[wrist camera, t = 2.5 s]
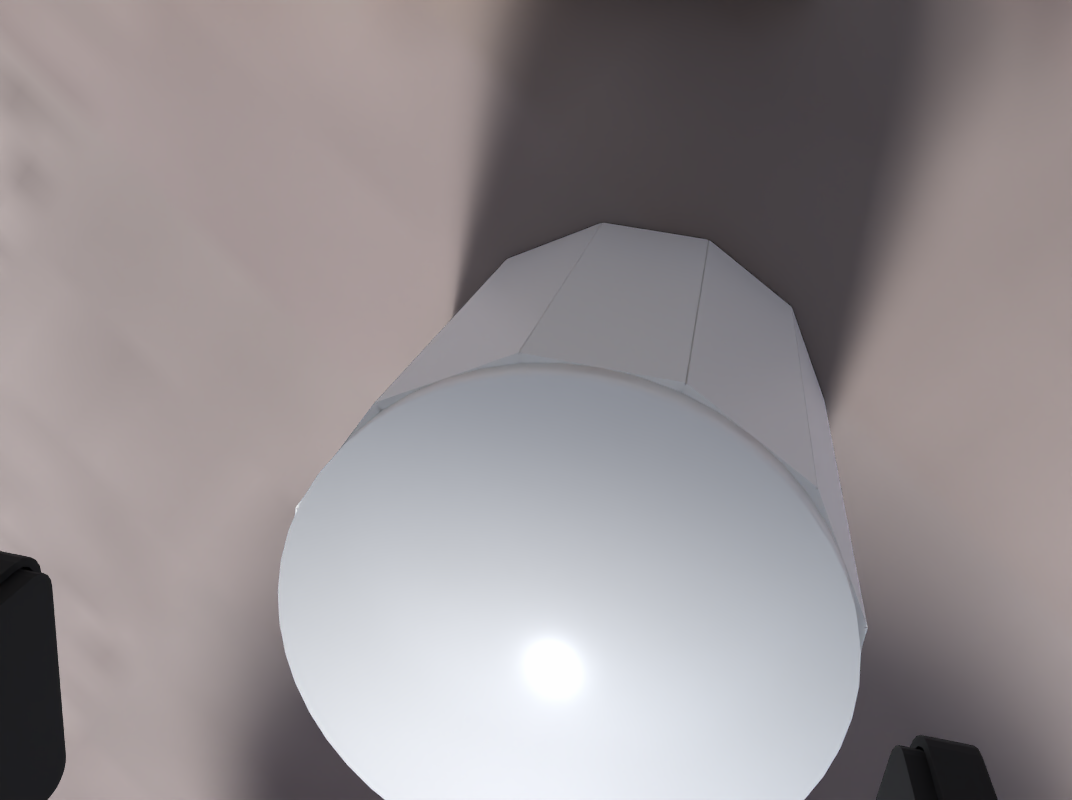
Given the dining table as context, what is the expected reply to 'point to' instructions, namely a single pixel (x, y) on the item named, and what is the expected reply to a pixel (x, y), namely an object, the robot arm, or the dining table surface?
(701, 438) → the elbow
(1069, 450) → the dining table surface
